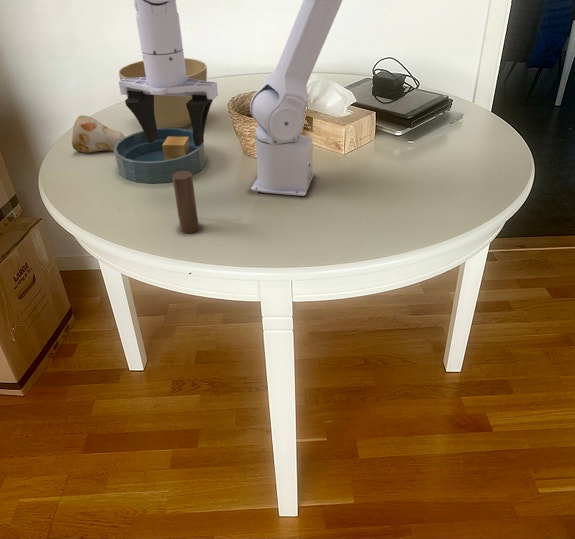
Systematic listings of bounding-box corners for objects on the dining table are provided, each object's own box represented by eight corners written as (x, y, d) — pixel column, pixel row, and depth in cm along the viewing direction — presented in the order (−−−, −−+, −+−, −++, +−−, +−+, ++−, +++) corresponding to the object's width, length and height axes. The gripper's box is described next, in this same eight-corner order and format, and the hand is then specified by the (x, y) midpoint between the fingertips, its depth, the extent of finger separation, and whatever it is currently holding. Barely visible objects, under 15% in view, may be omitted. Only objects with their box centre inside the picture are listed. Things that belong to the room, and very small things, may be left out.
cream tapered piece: (127, 158, 103) (90, 119, 96) (91, 175, 107) (53, 138, 101) (137, 135, 108) (102, 96, 101) (102, 152, 112) (66, 115, 105)
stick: (201, 224, 82) (194, 171, 77) (195, 234, 80) (187, 180, 74) (184, 223, 82) (176, 170, 77) (177, 232, 80) (169, 178, 75)
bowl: (217, 152, 104) (215, 130, 102) (188, 190, 91) (184, 166, 89) (141, 146, 107) (137, 125, 105) (102, 182, 94) (96, 158, 92)
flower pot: (223, 113, 122) (218, 58, 115) (193, 143, 108) (185, 83, 101) (152, 108, 126) (143, 54, 119) (114, 136, 112) (101, 77, 105)
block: (191, 156, 101) (188, 136, 99) (186, 165, 98) (183, 145, 96) (170, 156, 102) (167, 136, 99) (165, 165, 98) (162, 144, 96)
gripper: (101, 55, 72) (121, 148, 80) (201, 59, 70) (211, 155, 78) (124, 42, 78) (141, 131, 86) (218, 46, 75) (226, 137, 83)
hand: (175, 142), depth 82 cm, fingers open, 7 cm apart
